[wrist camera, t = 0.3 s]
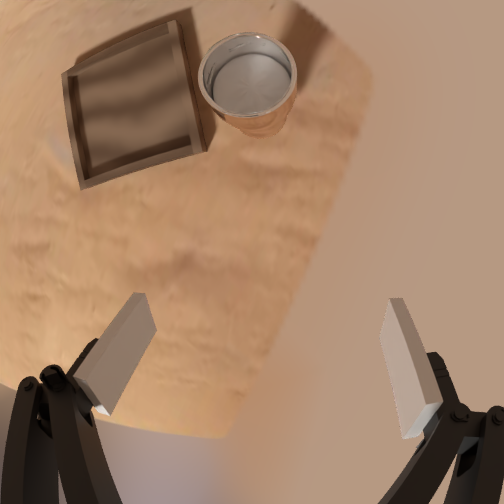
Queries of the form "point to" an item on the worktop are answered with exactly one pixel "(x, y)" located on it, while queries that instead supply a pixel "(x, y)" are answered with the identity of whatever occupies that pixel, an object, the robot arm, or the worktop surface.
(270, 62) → the silver metal cup
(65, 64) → the worktop surface
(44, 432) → the robot arm
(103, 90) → the walnut tray
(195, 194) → the worktop surface
